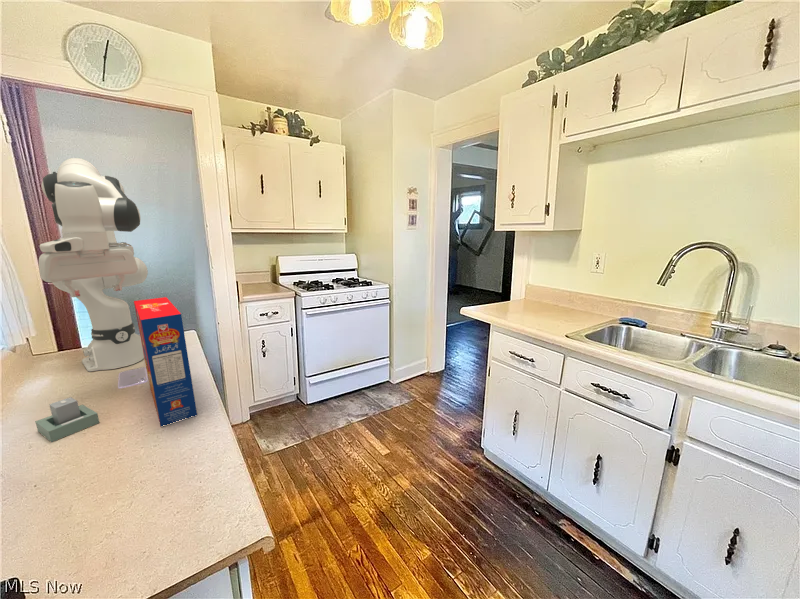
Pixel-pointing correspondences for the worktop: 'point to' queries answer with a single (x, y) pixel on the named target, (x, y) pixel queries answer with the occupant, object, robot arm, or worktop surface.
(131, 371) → the mobile phone
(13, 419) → the worktop surface
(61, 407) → the block
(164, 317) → the pasta box
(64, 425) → the green square tray
